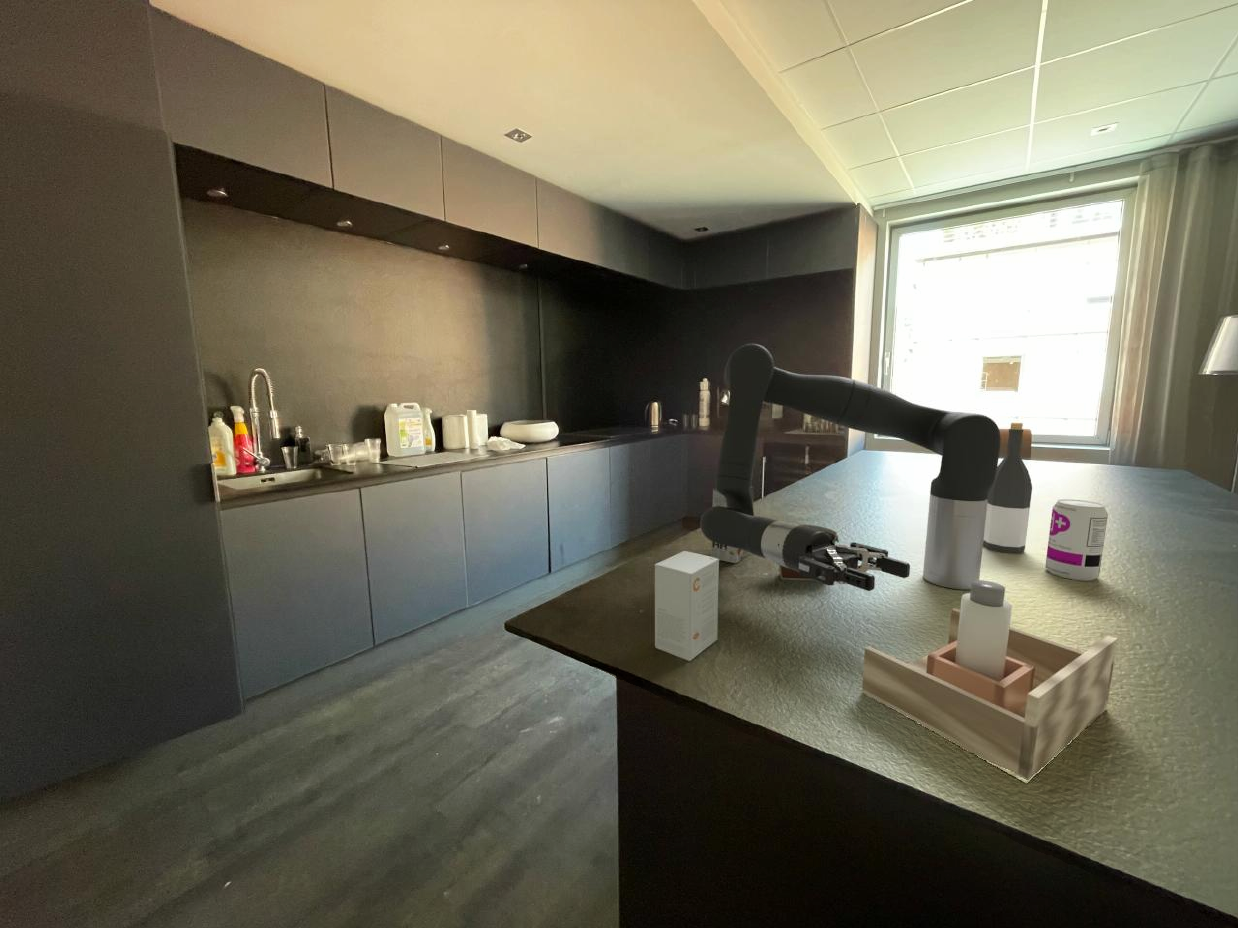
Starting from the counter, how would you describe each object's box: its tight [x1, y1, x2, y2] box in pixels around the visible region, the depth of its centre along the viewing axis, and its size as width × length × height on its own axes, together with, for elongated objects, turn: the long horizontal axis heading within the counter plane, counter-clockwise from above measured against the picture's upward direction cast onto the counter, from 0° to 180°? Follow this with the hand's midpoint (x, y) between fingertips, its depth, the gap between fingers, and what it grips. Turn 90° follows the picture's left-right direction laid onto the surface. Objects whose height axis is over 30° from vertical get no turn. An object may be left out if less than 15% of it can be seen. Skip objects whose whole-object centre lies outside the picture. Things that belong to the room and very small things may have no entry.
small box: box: [654, 550, 720, 662], centre depth 73 cm, size 8×6×13 cm
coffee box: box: [710, 485, 755, 564], centre depth 112 cm, size 9×6×16 cm
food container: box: [778, 523, 840, 581], centre depth 101 cm, size 12×6×10 cm, turn 84°
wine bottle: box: [983, 422, 1033, 555], centre depth 115 cm, size 8×8×30 cm
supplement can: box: [1044, 498, 1109, 582], centre depth 100 cm, size 8×8×15 cm
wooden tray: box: [861, 607, 1118, 780], centre depth 59 cm, size 22×17×9 cm
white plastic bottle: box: [955, 579, 1013, 682], centre depth 59 cm, size 5×5×14 cm
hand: (891, 577), depth 68 cm, fingers open, 8 cm apart
